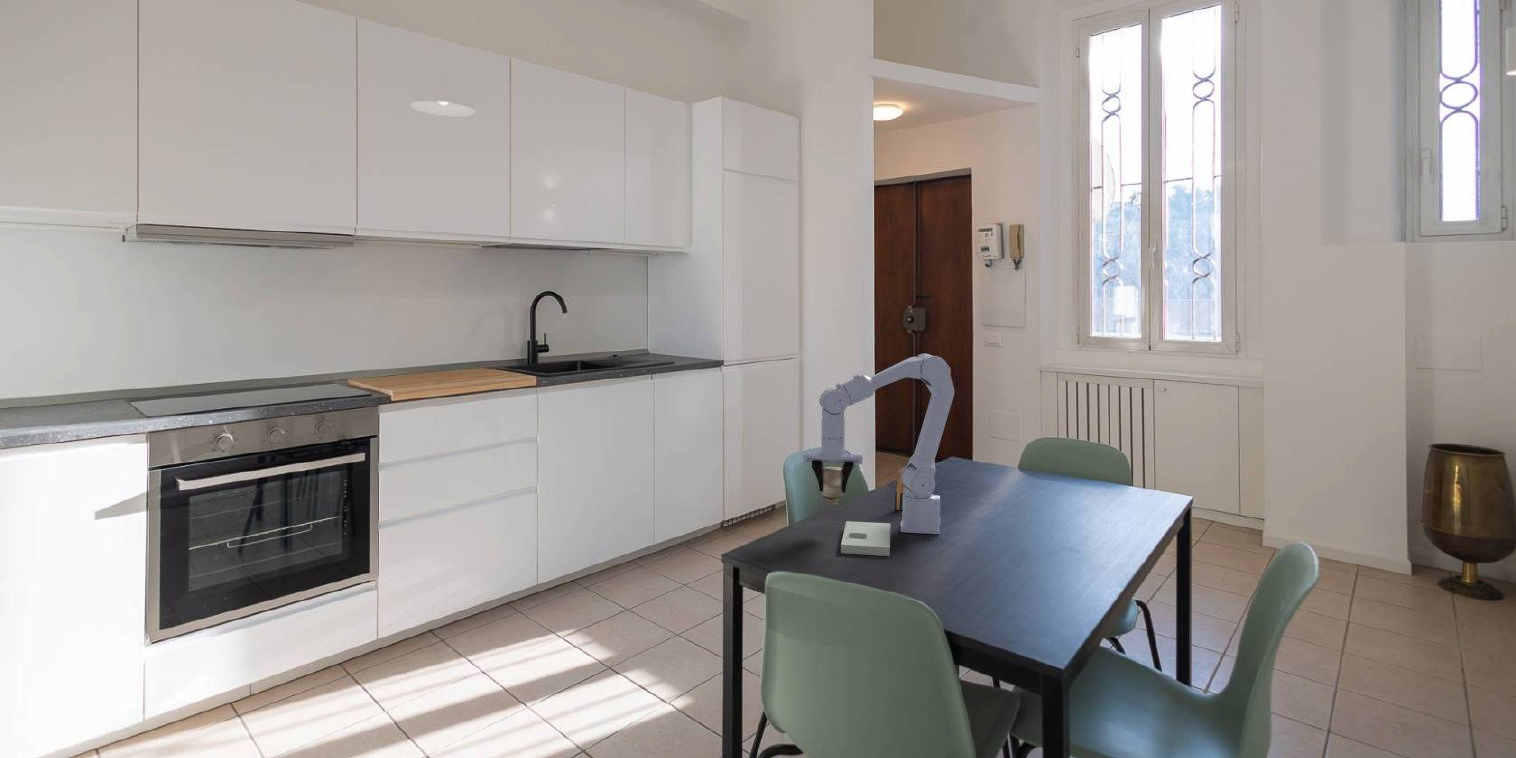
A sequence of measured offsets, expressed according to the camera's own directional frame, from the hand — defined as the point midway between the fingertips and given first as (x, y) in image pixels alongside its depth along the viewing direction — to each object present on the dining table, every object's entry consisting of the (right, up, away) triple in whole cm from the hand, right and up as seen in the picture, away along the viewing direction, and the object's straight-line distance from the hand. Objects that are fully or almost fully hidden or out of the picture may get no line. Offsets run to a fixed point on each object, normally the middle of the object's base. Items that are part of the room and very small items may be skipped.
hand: (832, 491), depth 187 cm
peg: (0, -3, 0) cm, 3 cm away
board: (+7, -11, -7) cm, 15 cm away
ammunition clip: (+23, -8, +23) cm, 33 cm away
